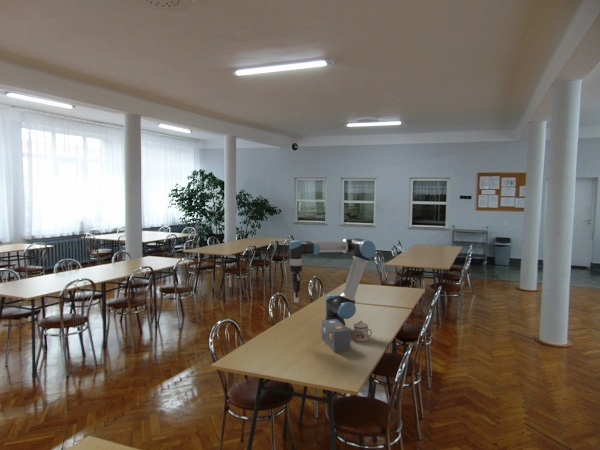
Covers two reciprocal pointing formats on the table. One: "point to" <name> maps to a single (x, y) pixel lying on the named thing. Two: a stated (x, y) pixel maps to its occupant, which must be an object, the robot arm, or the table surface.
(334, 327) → the button console
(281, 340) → the table surface
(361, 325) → the teacup with lid
